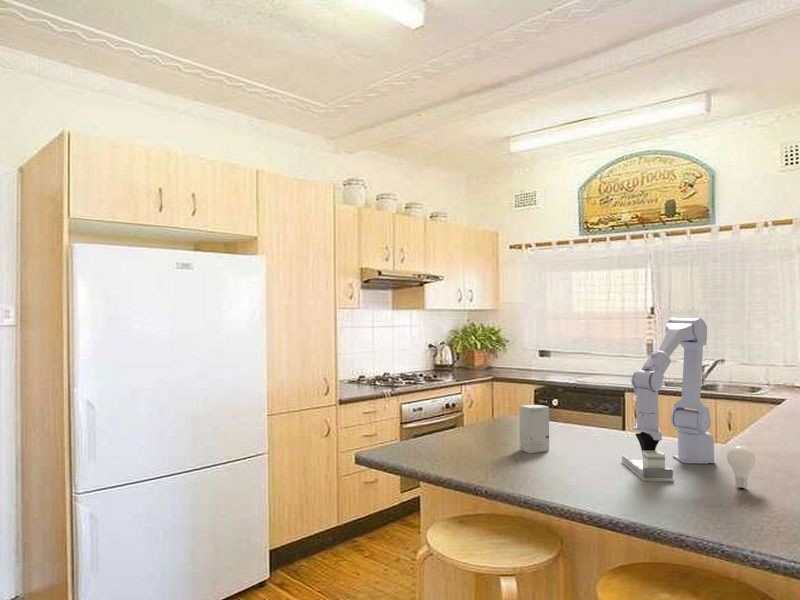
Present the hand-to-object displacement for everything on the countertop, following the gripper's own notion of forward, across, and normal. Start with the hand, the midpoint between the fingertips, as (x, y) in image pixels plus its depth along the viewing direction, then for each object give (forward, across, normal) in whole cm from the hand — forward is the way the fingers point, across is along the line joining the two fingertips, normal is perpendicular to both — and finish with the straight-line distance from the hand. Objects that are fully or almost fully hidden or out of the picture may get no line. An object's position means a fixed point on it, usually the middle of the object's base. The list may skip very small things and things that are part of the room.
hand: (648, 459), depth 157 cm
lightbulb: (+4, +13, +19) cm, 23 cm away
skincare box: (+4, -23, -28) cm, 37 cm away
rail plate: (+4, -1, 0) cm, 4 cm away
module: (+3, +4, 0) cm, 5 cm away
